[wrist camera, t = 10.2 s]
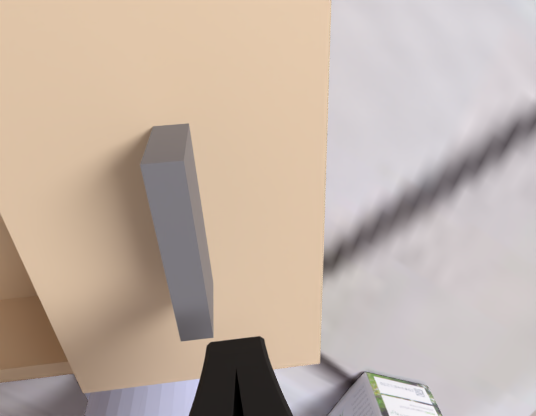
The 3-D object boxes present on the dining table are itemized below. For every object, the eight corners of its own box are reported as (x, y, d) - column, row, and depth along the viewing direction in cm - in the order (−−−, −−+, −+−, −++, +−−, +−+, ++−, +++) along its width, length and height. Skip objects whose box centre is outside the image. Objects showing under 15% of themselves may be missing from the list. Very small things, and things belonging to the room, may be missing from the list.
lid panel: (317, 352, 18) (334, 418, 16) (86, 380, 18) (64, 455, 15) (328, -111, 10) (371, -135, 7) (-121, -92, 9) (-258, -111, 6)
